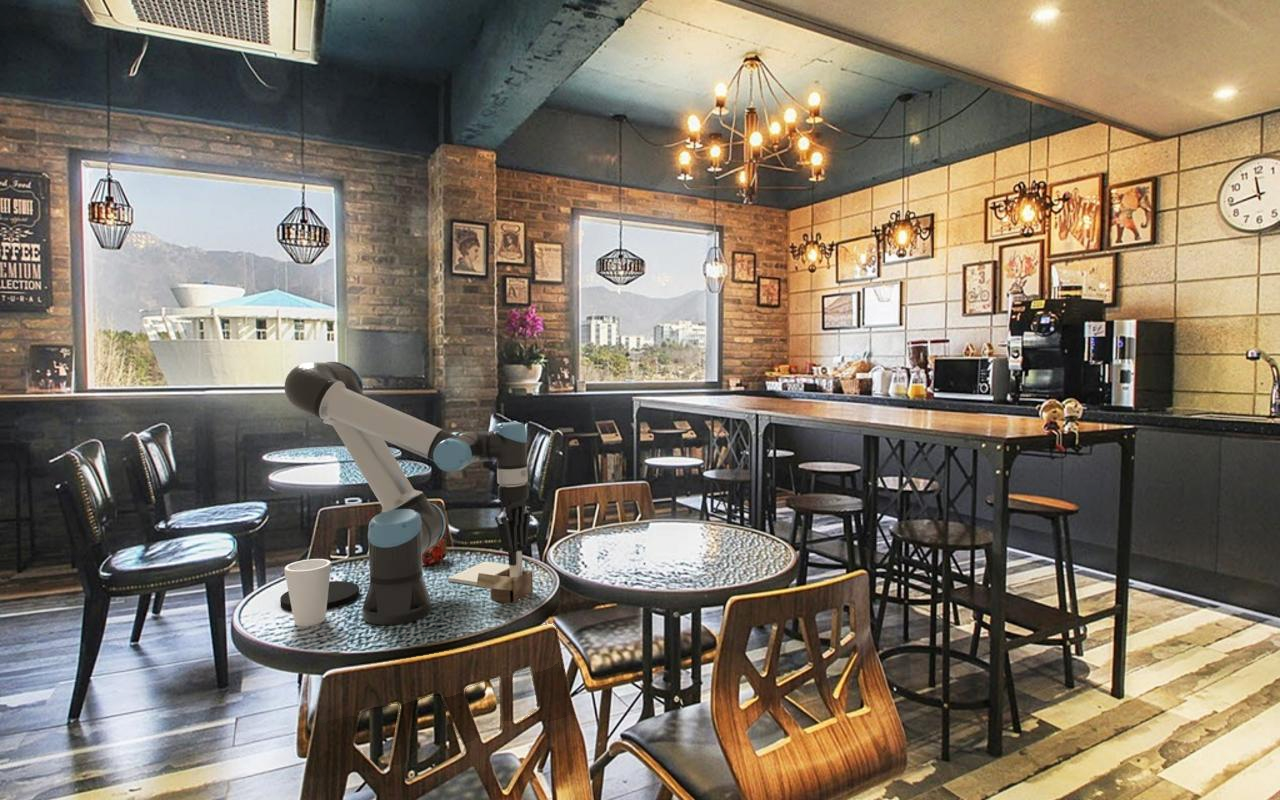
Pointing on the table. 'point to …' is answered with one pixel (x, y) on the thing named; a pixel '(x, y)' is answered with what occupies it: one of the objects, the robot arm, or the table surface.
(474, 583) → the cream pad
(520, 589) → the box
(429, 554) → the dragon fruit
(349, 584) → the wireless charger
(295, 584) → the foam cup
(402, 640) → the table surface
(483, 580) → the maple bar
